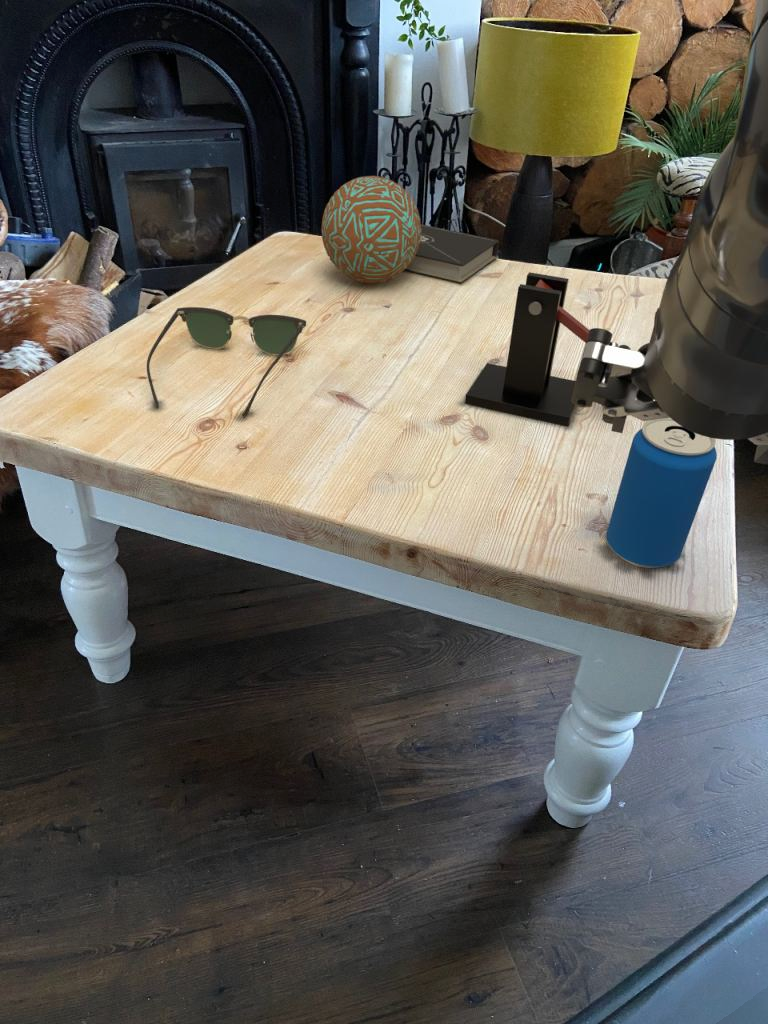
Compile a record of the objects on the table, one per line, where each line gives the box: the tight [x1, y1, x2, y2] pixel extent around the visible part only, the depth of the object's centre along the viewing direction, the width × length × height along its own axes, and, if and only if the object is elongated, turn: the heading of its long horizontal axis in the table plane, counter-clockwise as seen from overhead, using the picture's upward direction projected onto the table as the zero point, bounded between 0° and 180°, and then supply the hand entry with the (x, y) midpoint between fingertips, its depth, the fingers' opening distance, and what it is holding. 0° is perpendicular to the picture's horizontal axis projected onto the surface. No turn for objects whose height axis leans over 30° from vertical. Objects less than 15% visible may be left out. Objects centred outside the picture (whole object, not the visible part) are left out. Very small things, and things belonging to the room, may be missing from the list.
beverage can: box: [605, 418, 718, 569], centre depth 62 cm, size 6×6×12 cm
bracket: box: [464, 271, 578, 427], centre depth 83 cm, size 12×9×14 cm
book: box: [403, 223, 500, 285], centre depth 124 cm, size 22×15×3 cm
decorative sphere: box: [321, 175, 422, 284], centre depth 111 cm, size 15×15×15 cm
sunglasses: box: [146, 306, 307, 417], centre depth 87 cm, size 16×17×5 cm
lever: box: [535, 279, 632, 350], centre depth 80 cm, size 13×6×2 cm, turn 68°
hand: (689, 432), depth 46 cm, fingers open, 8 cm apart
